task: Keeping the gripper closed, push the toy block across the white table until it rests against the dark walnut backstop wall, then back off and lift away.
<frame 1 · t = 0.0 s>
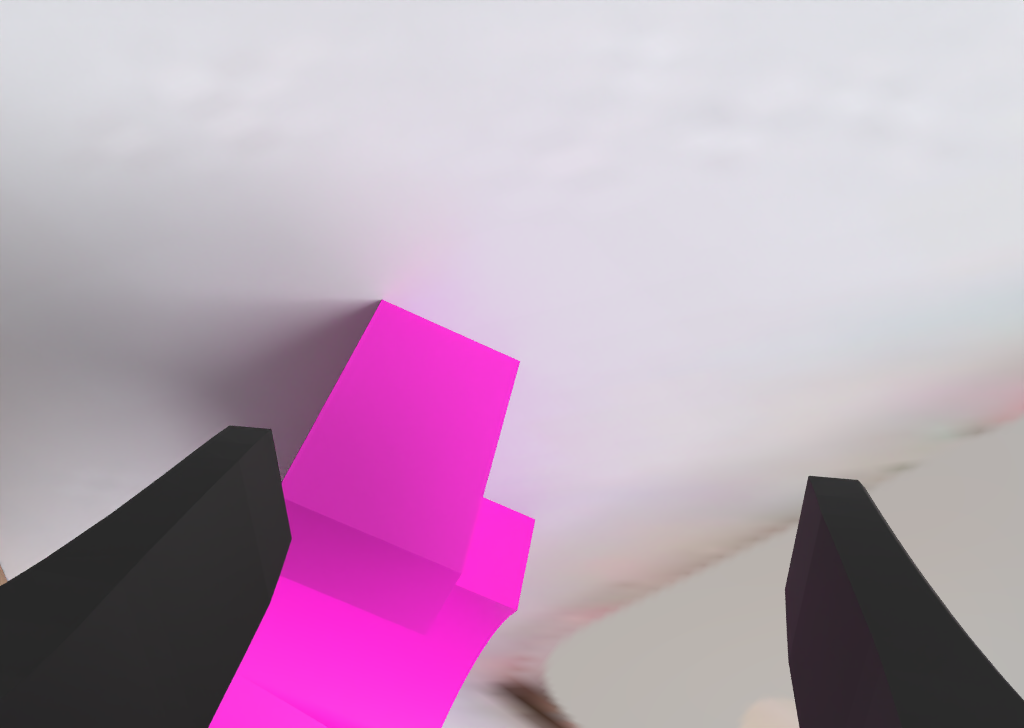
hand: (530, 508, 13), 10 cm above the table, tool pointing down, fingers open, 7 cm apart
toy block: (403, 531, 28), on the table
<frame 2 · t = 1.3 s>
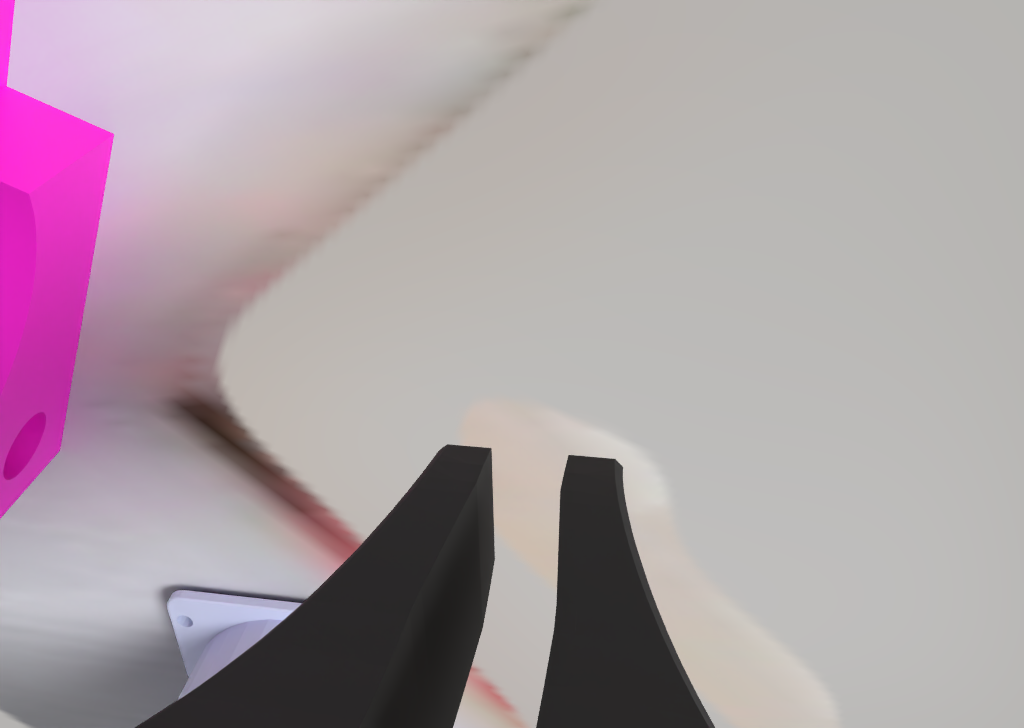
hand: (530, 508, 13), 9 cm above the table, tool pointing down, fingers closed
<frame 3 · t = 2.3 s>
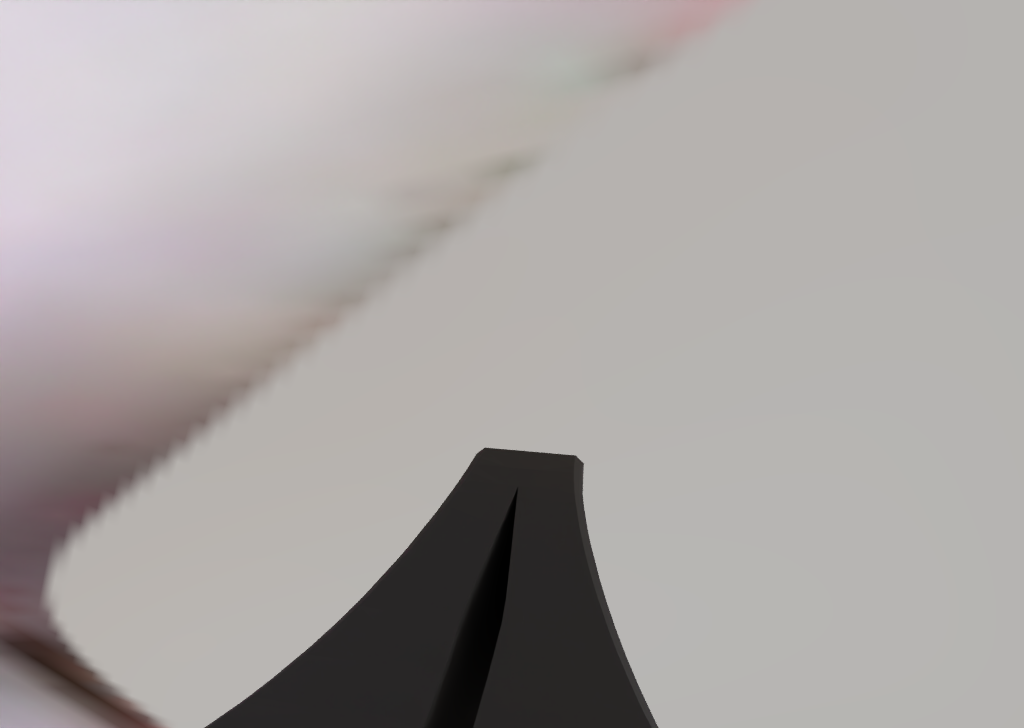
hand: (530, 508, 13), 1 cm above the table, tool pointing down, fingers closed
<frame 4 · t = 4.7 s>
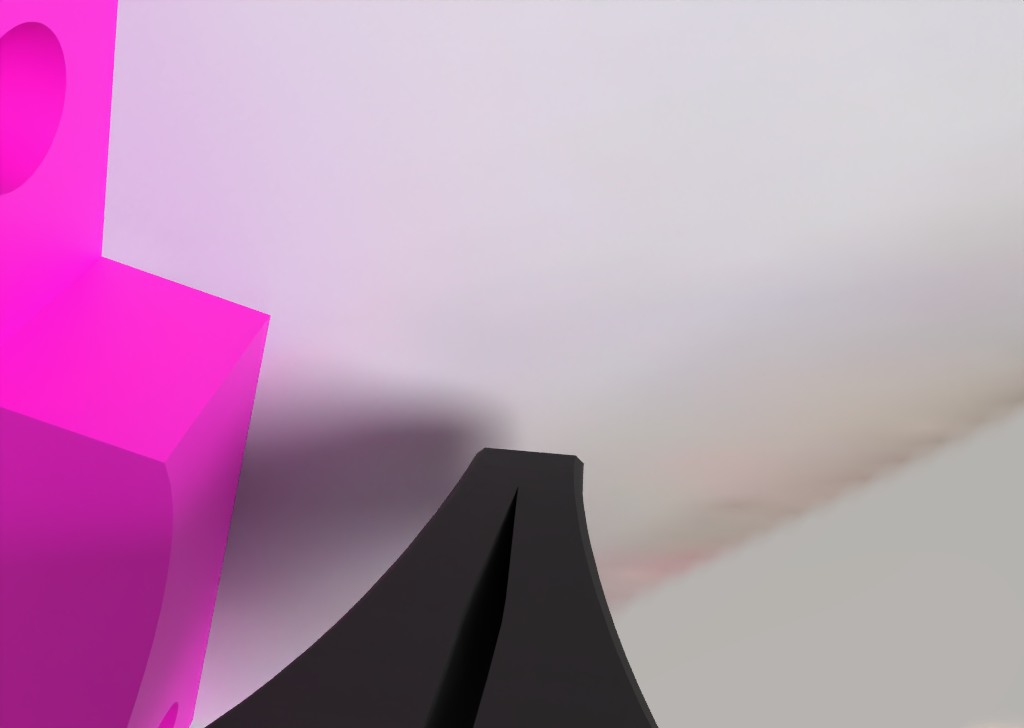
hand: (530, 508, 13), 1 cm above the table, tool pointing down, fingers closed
toy block: (67, 378, 15), on the table
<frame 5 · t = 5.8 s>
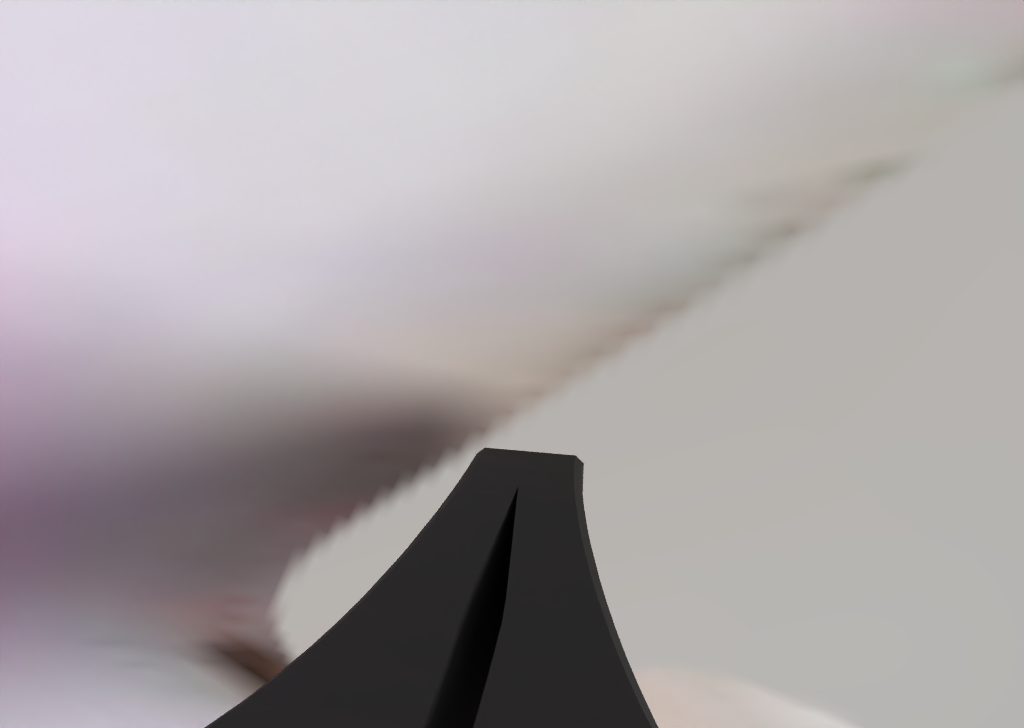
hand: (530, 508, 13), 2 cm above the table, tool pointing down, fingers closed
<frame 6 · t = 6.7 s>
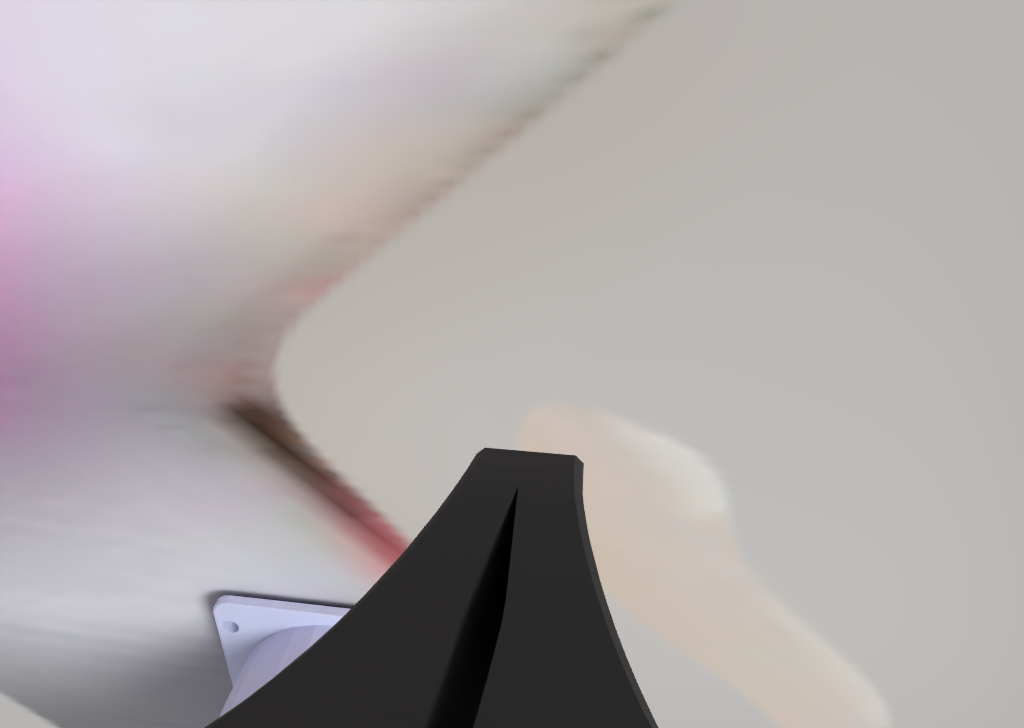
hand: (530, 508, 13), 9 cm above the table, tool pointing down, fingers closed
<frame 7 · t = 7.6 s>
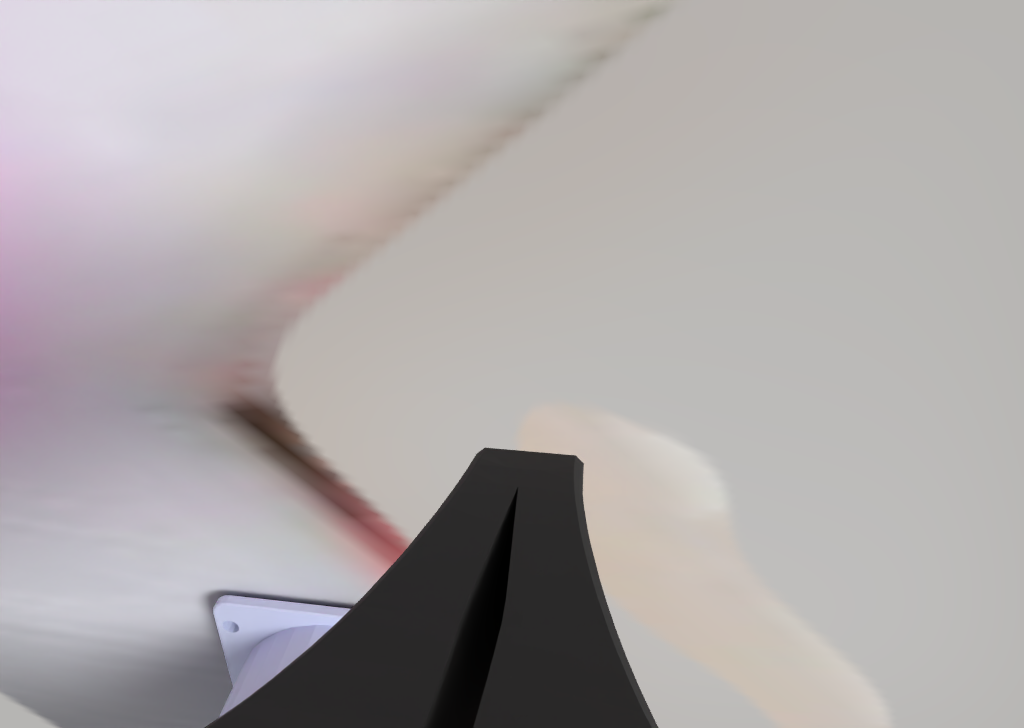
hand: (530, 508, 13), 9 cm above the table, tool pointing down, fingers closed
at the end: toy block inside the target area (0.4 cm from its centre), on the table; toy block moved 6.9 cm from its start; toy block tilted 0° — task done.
